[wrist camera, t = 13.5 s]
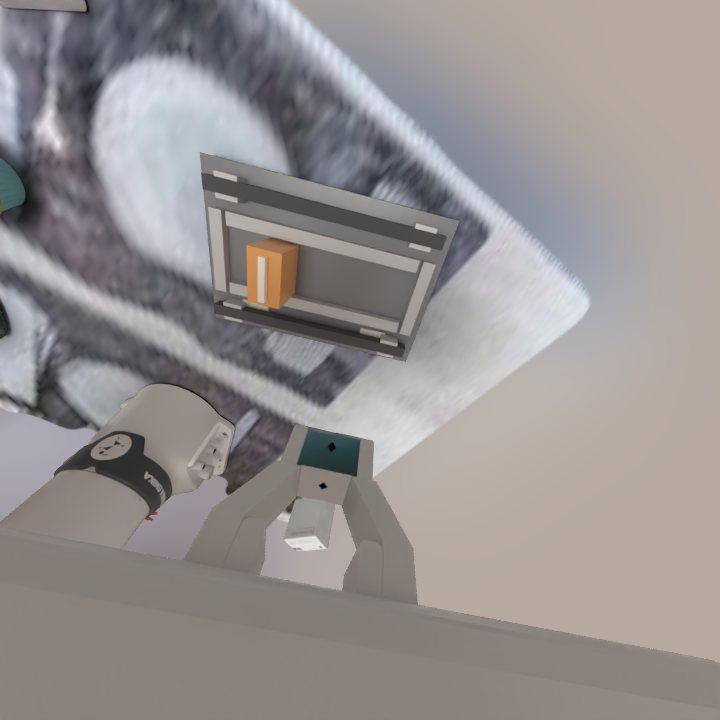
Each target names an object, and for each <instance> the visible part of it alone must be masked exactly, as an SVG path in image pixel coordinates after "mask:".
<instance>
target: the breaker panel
mask: <svg viewBox="0 0 720 720" xmlns="http://www.w3.org/2000/svg"><path fill="white" fill-rule="evenodd" d="M200 158H201V169H202V173H207V174H212V175H214V176H216V177H220V178H224V179H228V180H232V181H235V182H242V183H246V184H250V185H254V186H258V187H261V188H265V189H269V190H273V191H277V192H281V193H284V194H288V195H292V196H296V197H300V198H304V199H307V200H311V201H315V202H319V203H323V204H327V205H330V206H334V207H338V208H342V209H346V210H349V211H353V212H357V213H361V214H365V215H369V216H372V217H376V218H380V219H384V220H388V221H392V222H395V223H399V224H403V225H407V226H411V227H414V228H415V229H419V230H423V231H427V232H431V233H434V234H436V233H437V234H441V235H445V236H446V237H447V238H446V241H445V244H444V246H443V249H442V251H440V250H437V249H433V248H429V247H425V246H421V245H417V244H413V243H410V242H406V241H402V240H398V239H394V238H390V237H386V236H382V235H379V234H375V233H371V232H367V231H363V230H359V229H355V228H351V227H348V226H344V225H340V224H336V223H332V222H328V221H324V220H320V219H317V218H313V217H309V216H305V215H301V214H297V213H293V212H290V211H286V210H282V209H278V208H274V207H270V206H266V205H262V204H259V203H255V202H251V201H247V200H243V199H239V198H235V197H231V196H228V195H224V194H220V193H216V192H212V191H208V190H204V189H203V190H204V200H205V211H206V222H207V232H208V243H209V253H210V264H211V274H212V285H213V295H214V303H216V302H218V301H219V300H221V301H224V302H223V306H227V307H232V308H236V309H240V310H242V309H243V308H244V307H246V306H247V307H251V308H255V309H259V310H263V311H267V312H272V313H276V314H280V315H284V316H288V317H293V318H297V319H301V320H305V321H309V322H314V323H318V324H322V325H326V326H330V327H334V328H339V329H343V330H347V331H351V332H355V333H360V334H364V335H368V336H372V337H376V338H380V343H383V344H387V345H391V346H396V347H397V345H398V343H401V344H405V351H404V354H403V357H402V358H401V357H396V356H392V355H388V354H384V353H380V352H375V351H371V350H367V349H363V348H358V347H354V346H350V345H346V344H341V343H337V342H333V341H329V340H324V339H320V338H316V337H312V336H308V335H303V334H299V333H295V332H291V331H286V330H282V329H278V328H274V327H269V326H265V325H261V324H257V323H253V322H248V321H244V320H240V319H236V318H231V317H227V316H223V315H219V314H215V317H218V318H222V319H226V320H231V321H235V322H239V323H243V324H248V325H252V326H256V327H260V328H265V329H269V330H273V331H277V332H282V333H286V334H290V335H294V336H298V337H303V338H307V339H311V340H315V341H320V342H324V343H328V344H332V345H337V346H341V347H345V348H349V349H354V350H358V351H362V352H366V353H371V354H375V355H379V356H383V357H388V358H392V359H396V360H400V361H405V362H406V359H407V357H408V354H409V352H410V349H411V346H412V344H413V341H414V339H415V336H416V333H417V331H418V328H419V326H420V323H421V320H422V318H423V315H424V313H425V310H426V307H427V305H428V302H429V299H430V297H431V294H432V292H433V289H434V286H435V284H436V281H437V279H438V276H439V273H440V271H441V268H442V266H443V263H444V260H445V258H446V255H447V253H448V250H449V247H450V245H451V242H452V240H453V237H454V234H455V232H456V229H457V226H458V224H459V221H457V220H454V219H450V218H446V217H442V216H439V215H435V214H431V213H427V212H424V211H420V210H416V209H412V208H408V207H405V206H401V205H397V204H393V203H390V202H386V201H382V200H378V199H374V198H371V197H367V196H363V195H359V194H356V193H352V192H348V191H344V190H341V189H337V188H333V187H329V186H325V185H322V184H318V183H314V182H310V181H307V180H303V179H299V178H295V177H291V176H288V175H284V174H280V173H276V172H273V171H269V170H265V169H261V168H257V167H254V166H250V165H246V164H242V163H239V162H235V161H231V160H227V159H223V158H220V157H216V156H212V155H208V154H205V153H201V152H200ZM268 238H272V239H276V240H280V241H284V242H287V243H291V244H295V245H299V251H298V263H297V275H296V287H295V294H294V295H293V296H292V297H291V298H290V299H289V300H288V301H287V302H286V303H285V304H284V305H283V306H282V307H281V308H280V309H276V308H272V307H267V306H263V305H259V304H255V303H251V302H248V298H247V248H246V245H249V244H252V243H255V242H258V241H262V240H265V239H268Z"/></svg>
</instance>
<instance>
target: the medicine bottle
mask: <svg viewBox="0 0 720 720" xmlns="http://www.w3.org/2000/svg"><path fill="white" fill-rule="evenodd" d="M0 6H2V7H5V8H19V9H40V10H61V11H82V12H85V11H86V10H87V6H86V3H85V0H0Z"/></svg>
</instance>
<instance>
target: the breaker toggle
mask: <svg viewBox="0 0 720 720" xmlns="http://www.w3.org/2000/svg"><path fill="white" fill-rule="evenodd" d="M246 248H247V298H248V302H251V303H255V304H259V305H263V306H267V307H272V308H276V309H280V308H281V307H282V306H283V305H284V304H285V303H286V302H287V301H288V300H289V299H290V298H291V297H292V296H293V295H294V294H295V287H296V275H297V263H298V251H299V245H295V244H291V243H287V242H284V241H280V240H276V239H272V238H268V239H265V240H262V241H258V242H255V243H252V244H249V245H246Z"/></svg>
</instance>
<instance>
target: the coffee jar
mask: <svg viewBox="0 0 720 720" xmlns="http://www.w3.org/2000/svg"><path fill="white" fill-rule="evenodd" d="M6 333H7V327H6V323H5V319H4V317H3V314H2V312H1V310H0V339H1V338H3V337H4V336H5V335H6Z"/></svg>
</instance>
